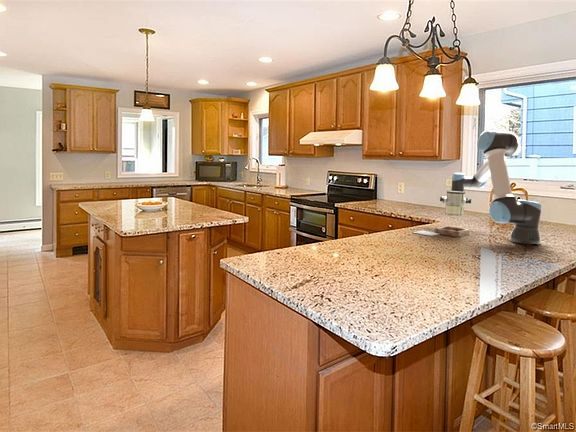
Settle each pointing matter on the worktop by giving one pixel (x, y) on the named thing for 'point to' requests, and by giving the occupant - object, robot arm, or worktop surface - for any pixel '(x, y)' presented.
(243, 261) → the worktop surface
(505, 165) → the robot arm
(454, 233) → the wooden tray
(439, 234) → the rubber mat
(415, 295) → the worktop surface
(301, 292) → the worktop surface
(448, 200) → the coffee can
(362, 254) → the worktop surface
